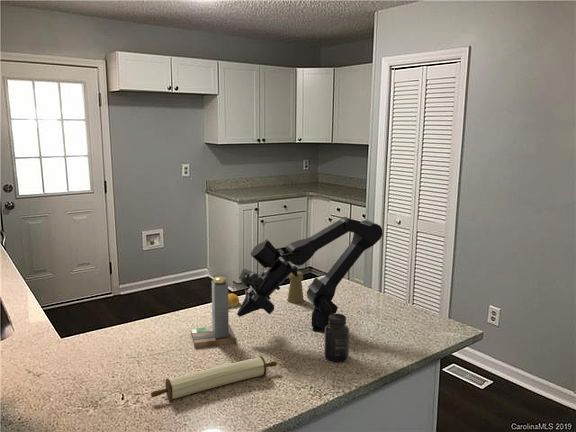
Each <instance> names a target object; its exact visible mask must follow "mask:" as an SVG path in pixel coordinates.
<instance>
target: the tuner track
mask: <svg viewBox="0 0 576 432" xmlns="http://www.w3.org/2000/svg"><path fill="white" fill-rule="evenodd" d="M190 334H191V339H192V342H193V347H194V349H195V348H204V347H211V346H220V345H228V344H229V345H230V344H236V343H237V342H236V341H237V340H236V339H237V338H236V335H235V333H234V331H233V329H232V327H231V325H230V324H229V337H220V338H215V337H214V334H213V329H212V326H205V327H196V328H190Z"/></svg>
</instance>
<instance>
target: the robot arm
mask: <svg viewBox="0 0 576 432" xmlns="http://www.w3.org/2000/svg"><path fill="white" fill-rule="evenodd" d="M349 232H350V233H353V236H352V241H351V242H350V244H349V245H348V246H347V247H346V249H345V250H344V251H343V252H342V254H341V255H340V256H339V258H338V259H337V260H336V261H335V263H333V264H332V266H331V268H330V269H329V271H328V272H327V273H326V274H325V276H323V277H321V278H320V279H319V278H318V277H314V279H313V280H312V282H311V283H310V284H309V285H307V288H308V289H307V290H306V298H307V299H308V300H309V302H310V303H311V305H312V306H314V308H313V311H312V313H311V327H312V331H315V332H325V327H326V325H328V324H329V323H328V320H329V315H331V314H337V311H338V309H339V306H338V305H336V303H335V302H333V301H332V300H333V298H335V294H336V289H337V287H338V285H339V284H340V283H341V282H342V280H343V279H344V277H346V275H347V274H348V272H349V271H350V270H351V268H352V267H353V266H354V265H355V264H356V262H357V260H358V259H359V258H360V257H361V256H362V254H363V253H364V252H365V251H366V250H369V249H370V248H371V247H374V246H375V245H376V244H377V243H379V241H380V240H381V239H382V237H383V228H382V227H381V225H379V224H378V223H375V222H373V221H370V220H367V219H366V220H362V221H361V220H357V219H354V218H350V217H347V216H343V217H340V219H339V220H337V221H335V222H333V223H332V224H330V225H328V226H327V227H325V228H323V229H321V230H320V231H318V232H316V233H315V234H313V235H311V236H309V237H306V238H303V239H298V240H296V241H293V242H290V243H288V244H287V245H285V246H283V247H278V248H276V247H275V246H274V245H273V244H272V242H270V240H268V239H267V238H266V239H265V240H264V241H261V242H260V243H258V244H256V245H255V246H254V247H253V249H252V250H251V252H250V257H252V258H253V259H254V260H255V261H256V262H257V263H258V264H259V265H261V267H263V268H264V269H266V268H268V270H266V271H261V272H260V273H256V272H254V271H252V270H249V269H247V268H243V269H242V270H241V273H240V275H239V278H238V279H239V280H240V282H241V283H242V285H244V286H246V287H247V288H248V289H246V288H245V289H244V292H245V297H244V299H243V301H242V303H241V305H240V307H239V309H238V311H237V312H236V315H237V316H238V317H239V318H240V317H243V316H246V315H248V314H251V313H253V312H255V311H260V310H264V311H265V312H266V313H267V314H269V315H271V314H272V313H273V312H274V311H275V305H274V302H272V301H271V299H272V298H271V295H272V294H273V293H274V292H275V291H276V290H277V291H279V290H280V289H281V287H280V286H281V285H282V284H283V283H284V281H285V280H287V278H289V275H290V274H291V273H292V274H293V275H294V276H295V277H297V276H298V274H297V271H298V269H299V268H298V266H300V267H301V266H302V265H305V263H307V262H308V261H309V260H311V259H312V257H313V256H314V254H315V253H316V252H317V251H319V250H320V249H322V248H324V247H325V246H327V245H329V244H330V243H332V242H334V241H336V240H337V239H338V238H340V237H342V236H344V235H345V234H347V233H349ZM281 258H282V260H284V261H282V260H281ZM292 264H293V265H292Z"/></svg>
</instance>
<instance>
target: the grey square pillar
mask: <svg viewBox="0 0 576 432" xmlns="http://www.w3.org/2000/svg"><path fill="white" fill-rule="evenodd" d="M228 294H229V284H228V281H227V278H226V277H225V276H216V277H213V279H212V280H211V311H212V312H211V318H212V319H211V321H212V322H211V323H212V326H211V327H212V329H213V334H214V337H215V338H220V337H229V325H230V324H229V308H228Z"/></svg>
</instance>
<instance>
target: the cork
mask: <svg viewBox="0 0 576 432" xmlns="http://www.w3.org/2000/svg"><path fill="white" fill-rule="evenodd" d="M297 274H298V276H297V277H295V276H294V275H293V274H292V273H291V274H290V275H289V276H288V279H289V287H288V293H287V299H286V300H287V302H288V303H290V304H294V303H295V304H297V305H298V304H302V303H304V301H305V300H304V292H303V283H302V282H303V279H304V275H303V272H302V271H299V270H297Z"/></svg>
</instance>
